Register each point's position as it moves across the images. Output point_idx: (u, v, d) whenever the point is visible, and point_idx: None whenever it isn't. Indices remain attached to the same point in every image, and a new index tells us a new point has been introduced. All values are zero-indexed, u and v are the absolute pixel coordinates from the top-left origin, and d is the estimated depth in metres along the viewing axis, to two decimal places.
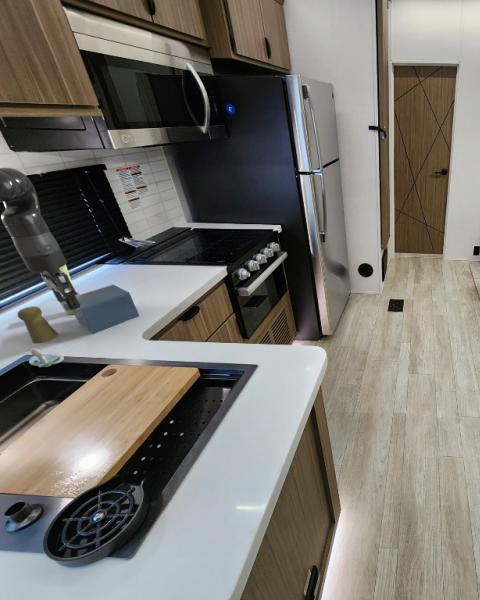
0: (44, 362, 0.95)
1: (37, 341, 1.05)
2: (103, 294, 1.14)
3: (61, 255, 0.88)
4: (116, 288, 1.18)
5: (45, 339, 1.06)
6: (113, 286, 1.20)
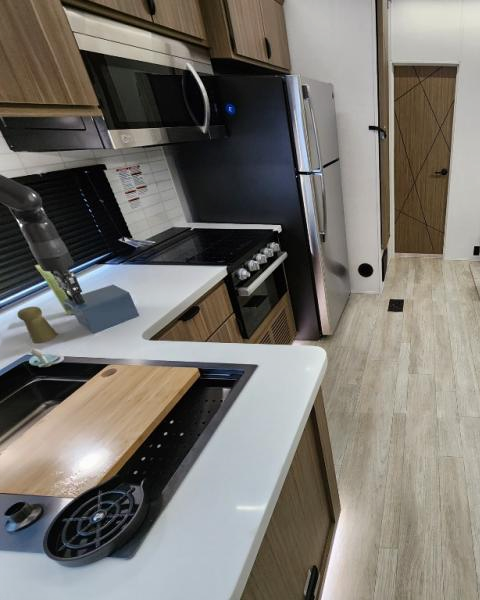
0: (44, 362, 0.95)
1: (37, 341, 1.05)
2: (103, 294, 1.14)
3: (69, 257, 1.03)
4: (116, 288, 1.18)
5: (45, 339, 1.06)
6: (113, 286, 1.20)
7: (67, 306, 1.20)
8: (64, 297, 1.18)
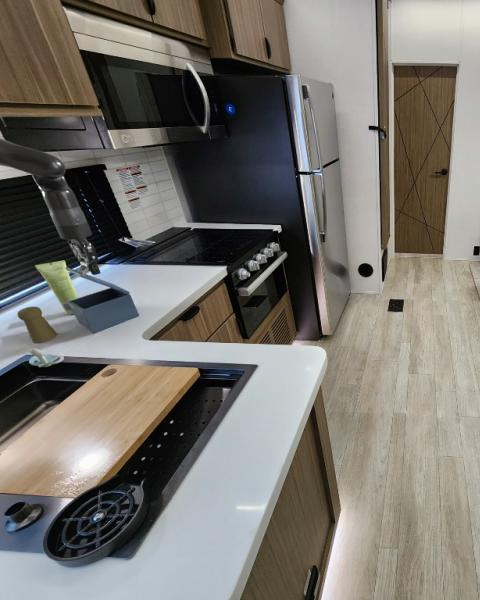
0: (44, 362, 0.95)
1: (37, 341, 1.05)
2: (105, 282, 1.14)
3: (88, 227, 1.05)
4: None
5: (45, 339, 1.06)
6: None
7: (67, 306, 1.20)
8: (64, 297, 1.18)
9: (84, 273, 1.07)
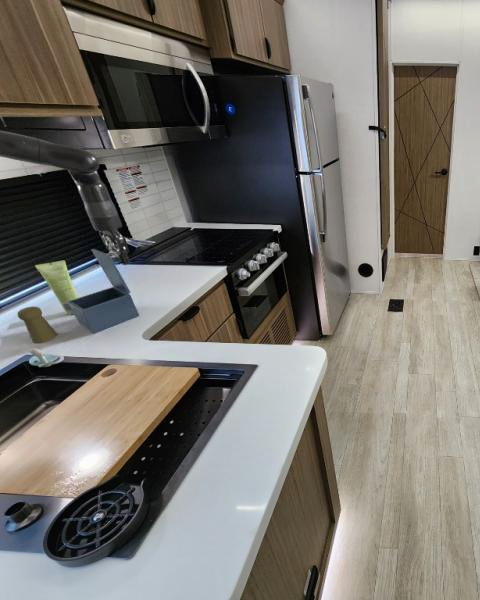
0: (44, 362, 0.95)
1: (37, 341, 1.05)
2: None
3: (119, 219, 1.12)
4: None
5: (45, 339, 1.06)
6: None
7: (67, 306, 1.20)
8: (64, 297, 1.18)
9: None
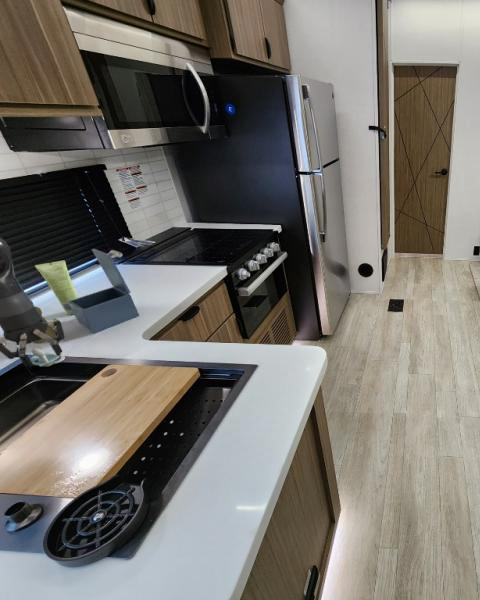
0: (45, 362, 0.95)
1: (37, 341, 1.05)
2: None
3: (8, 322, 0.86)
4: None
5: None
6: None
7: (67, 306, 1.20)
8: (64, 297, 1.18)
9: None
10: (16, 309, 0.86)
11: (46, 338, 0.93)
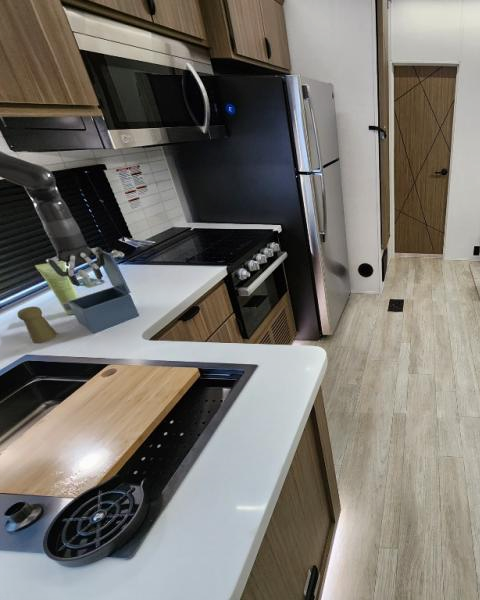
0: (89, 283, 1.10)
1: (37, 341, 1.05)
2: None
3: (61, 242, 1.00)
4: None
5: (45, 339, 1.06)
6: None
7: (67, 306, 1.20)
8: (64, 297, 1.18)
9: None
10: (68, 231, 1.01)
11: (90, 262, 1.08)
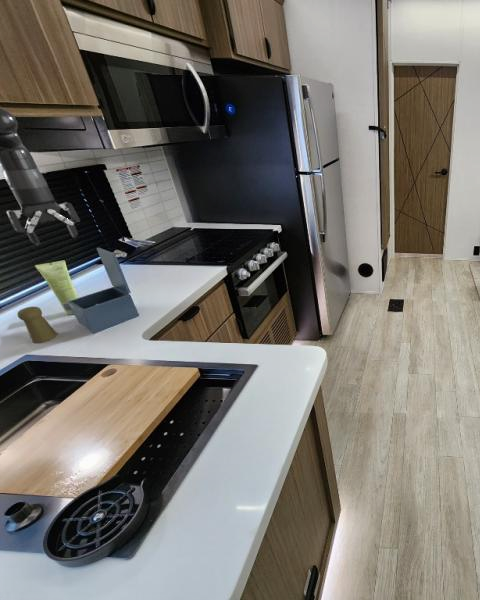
0: None
1: (37, 341, 1.05)
2: None
3: (25, 195, 0.92)
4: None
5: (45, 339, 1.06)
6: None
7: (67, 306, 1.20)
8: (64, 297, 1.18)
9: None
10: (32, 183, 0.92)
11: (61, 218, 1.00)
